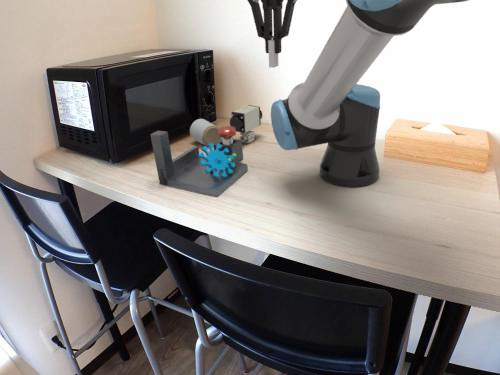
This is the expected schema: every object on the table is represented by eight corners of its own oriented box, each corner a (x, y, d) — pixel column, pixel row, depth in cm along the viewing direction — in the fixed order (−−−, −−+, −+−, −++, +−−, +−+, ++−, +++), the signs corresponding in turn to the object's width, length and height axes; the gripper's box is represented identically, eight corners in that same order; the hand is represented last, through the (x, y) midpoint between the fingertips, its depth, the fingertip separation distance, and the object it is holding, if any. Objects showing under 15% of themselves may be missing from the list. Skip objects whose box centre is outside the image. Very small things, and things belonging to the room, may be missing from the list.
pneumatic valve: (263, 137, 125) (262, 102, 120) (242, 148, 117) (239, 111, 112) (250, 134, 128) (248, 100, 123) (229, 145, 120) (226, 109, 115)
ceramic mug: (204, 149, 118) (202, 126, 114) (190, 143, 124) (188, 121, 120) (230, 141, 124) (229, 119, 120) (216, 135, 130) (214, 114, 126)
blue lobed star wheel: (209, 179, 91) (194, 144, 93) (200, 189, 95) (187, 155, 98) (245, 171, 97) (230, 138, 99) (235, 181, 102) (221, 149, 104)
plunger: (240, 156, 109) (238, 127, 105) (232, 163, 105) (229, 132, 101) (226, 154, 111) (223, 125, 107) (217, 160, 108) (214, 130, 103)
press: (258, 161, 108) (256, 115, 101) (217, 197, 90) (211, 143, 84) (206, 153, 115) (201, 109, 109) (159, 184, 98) (150, 134, 92)
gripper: (239, -38, 85) (245, 68, 96) (291, -43, 79) (291, 70, 91) (253, -37, 91) (257, 63, 102) (304, -42, 85) (302, 64, 96)
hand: (273, 66), depth 96 cm, fingers closed
